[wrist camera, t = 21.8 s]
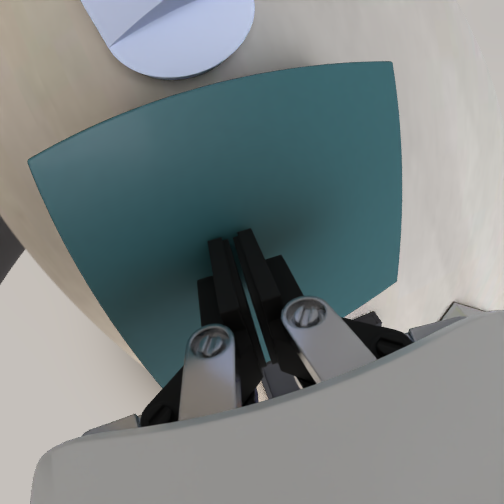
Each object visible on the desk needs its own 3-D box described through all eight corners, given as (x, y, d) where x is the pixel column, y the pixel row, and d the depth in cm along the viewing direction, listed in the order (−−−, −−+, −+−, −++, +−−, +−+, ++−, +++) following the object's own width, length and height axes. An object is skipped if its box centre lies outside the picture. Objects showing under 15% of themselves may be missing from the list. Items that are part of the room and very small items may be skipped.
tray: (272, 404, 40) (275, 415, 38) (252, 354, 32) (256, 368, 31) (367, 369, 41) (372, 379, 39) (374, 311, 33) (382, 321, 32)
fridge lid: (173, 394, 14) (177, 406, 14) (32, 157, 7) (26, 160, 7) (388, 275, 18) (397, 281, 18) (379, 61, 11) (392, 61, 11)
